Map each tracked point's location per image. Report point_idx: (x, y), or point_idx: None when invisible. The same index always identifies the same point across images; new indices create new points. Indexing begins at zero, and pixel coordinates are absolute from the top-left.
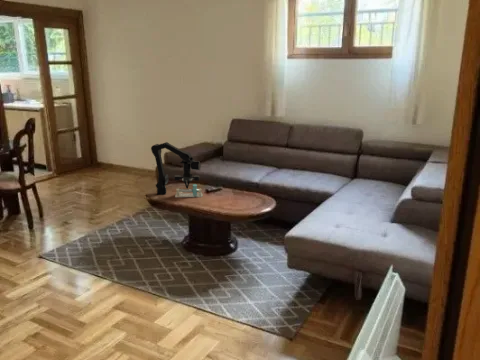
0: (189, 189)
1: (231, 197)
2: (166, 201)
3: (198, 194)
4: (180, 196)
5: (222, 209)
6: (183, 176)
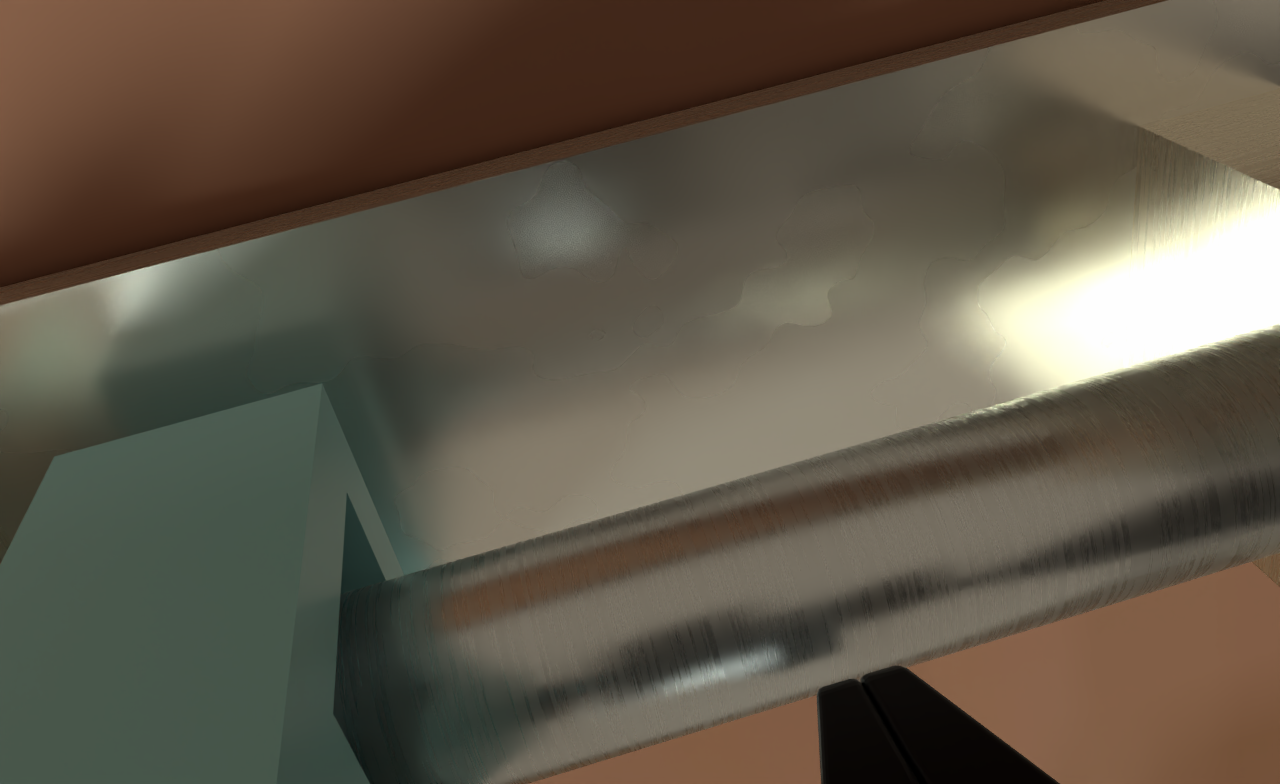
0: (650, 683)
1: None
2: None
3: None
4: (1060, 37)
5: None
6: None
